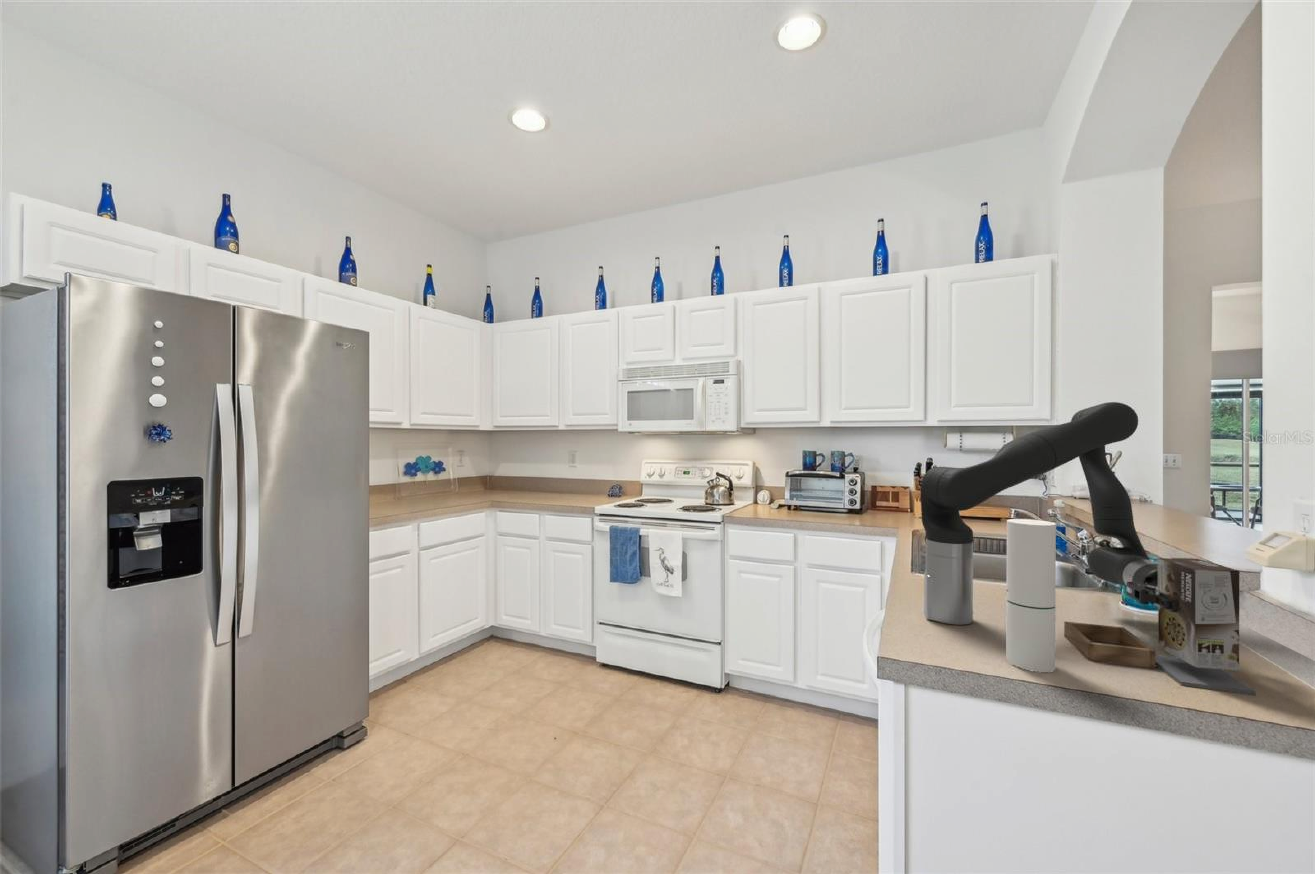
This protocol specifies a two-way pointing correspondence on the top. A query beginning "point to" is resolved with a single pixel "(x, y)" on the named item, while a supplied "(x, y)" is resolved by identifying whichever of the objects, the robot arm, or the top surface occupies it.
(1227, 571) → the coffee box
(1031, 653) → the cylindrical container
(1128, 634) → the walnut sleeve
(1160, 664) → the rubber mat
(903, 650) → the top surface
